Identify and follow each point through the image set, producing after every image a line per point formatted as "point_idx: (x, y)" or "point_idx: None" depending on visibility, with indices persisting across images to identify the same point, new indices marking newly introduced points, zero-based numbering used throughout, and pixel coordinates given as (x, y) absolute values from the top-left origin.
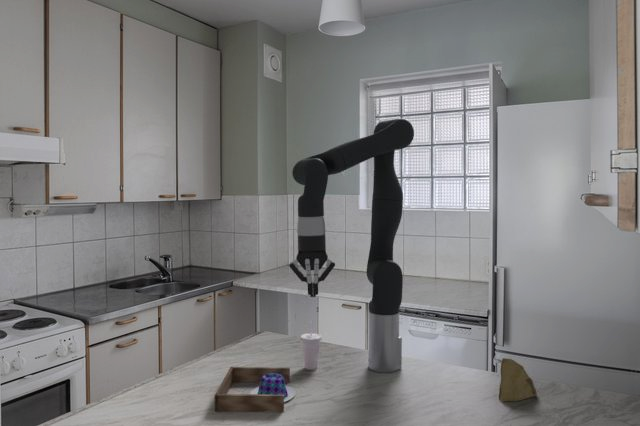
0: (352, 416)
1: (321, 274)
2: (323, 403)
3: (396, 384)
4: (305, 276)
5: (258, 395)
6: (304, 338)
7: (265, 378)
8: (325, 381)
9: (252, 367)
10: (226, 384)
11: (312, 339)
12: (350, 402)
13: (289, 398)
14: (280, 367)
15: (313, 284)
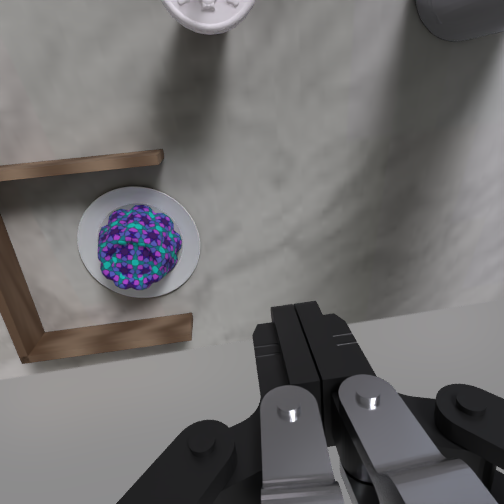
0: (337, 311)
1: (485, 442)
2: (274, 267)
3: (467, 131)
4: (244, 489)
5: (130, 346)
6: (180, 15)
7: (112, 265)
8: (270, 135)
9: (26, 172)
10: (3, 271)
11: (222, 27)
12: (336, 253)
13: (191, 261)
14: (124, 159)
15: (329, 439)
